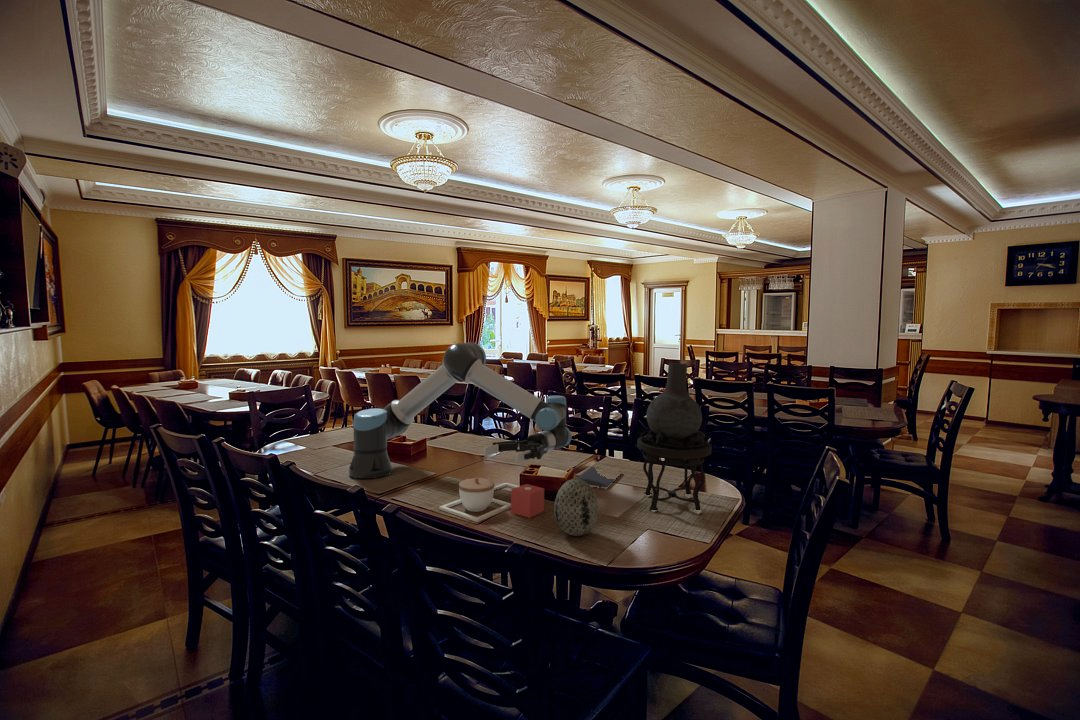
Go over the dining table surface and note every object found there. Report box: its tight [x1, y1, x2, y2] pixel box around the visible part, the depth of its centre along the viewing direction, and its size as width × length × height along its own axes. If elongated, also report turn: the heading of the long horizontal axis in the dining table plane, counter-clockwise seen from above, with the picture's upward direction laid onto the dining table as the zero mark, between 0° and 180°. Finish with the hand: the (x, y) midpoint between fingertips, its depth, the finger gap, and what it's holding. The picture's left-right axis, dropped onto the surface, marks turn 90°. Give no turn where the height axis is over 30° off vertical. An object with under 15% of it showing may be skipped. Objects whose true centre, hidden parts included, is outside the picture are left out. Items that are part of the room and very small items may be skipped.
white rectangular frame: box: [438, 482, 520, 523], centre depth 157 cm, size 31×16×1 cm, turn 143°
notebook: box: [575, 466, 614, 489], centre depth 183 cm, size 13×2×21 cm
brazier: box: [636, 362, 713, 511], centre depth 156 cm, size 22×22×45 cm
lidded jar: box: [458, 477, 495, 513], centre depth 151 cm, size 11×11×9 cm
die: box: [510, 483, 545, 519], centre depth 148 cm, size 7×7×7 cm
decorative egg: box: [553, 478, 599, 537], centre depth 133 cm, size 12×12×15 cm
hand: (499, 455), depth 158 cm, fingers open, 13 cm apart
